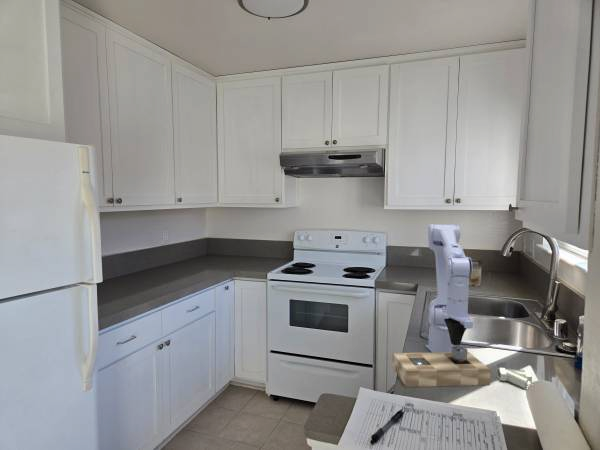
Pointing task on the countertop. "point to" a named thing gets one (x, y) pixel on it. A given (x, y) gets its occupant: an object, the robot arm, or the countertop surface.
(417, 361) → the peg
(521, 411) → the countertop surface
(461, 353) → the peg
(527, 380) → the pipe fitting
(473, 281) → the coffee box
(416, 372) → the socket block
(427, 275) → the countertop surface
